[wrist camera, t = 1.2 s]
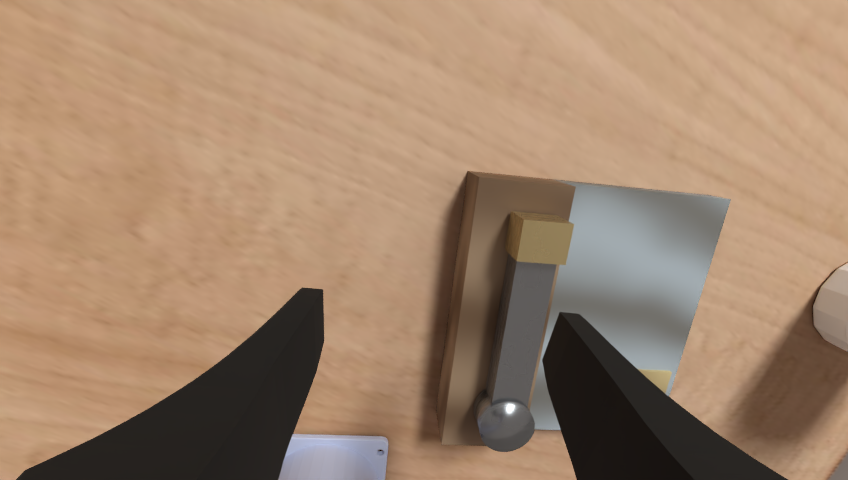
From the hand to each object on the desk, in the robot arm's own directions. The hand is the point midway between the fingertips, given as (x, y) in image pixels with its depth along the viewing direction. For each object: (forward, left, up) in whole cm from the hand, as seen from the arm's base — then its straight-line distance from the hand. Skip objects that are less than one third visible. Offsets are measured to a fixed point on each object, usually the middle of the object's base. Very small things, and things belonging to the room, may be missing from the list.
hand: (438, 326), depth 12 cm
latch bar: (-4, -6, -8) cm, 11 cm away
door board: (-4, -11, -11) cm, 16 cm away
